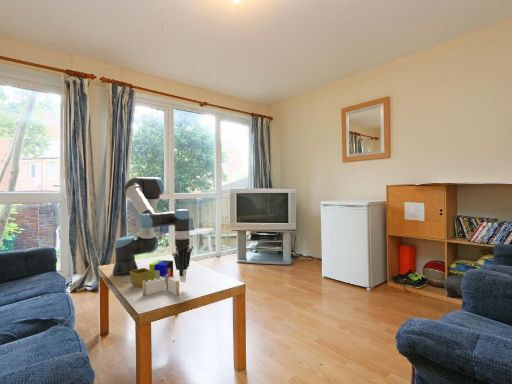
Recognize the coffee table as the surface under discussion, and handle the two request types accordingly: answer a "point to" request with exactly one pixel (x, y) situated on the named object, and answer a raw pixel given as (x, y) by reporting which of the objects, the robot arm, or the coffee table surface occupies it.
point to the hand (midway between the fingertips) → (182, 281)
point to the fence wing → (173, 286)
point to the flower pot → (140, 276)
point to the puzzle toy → (161, 269)
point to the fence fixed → (154, 285)
